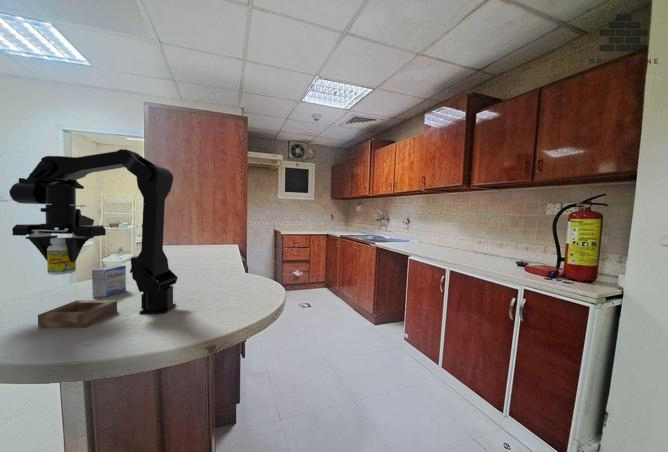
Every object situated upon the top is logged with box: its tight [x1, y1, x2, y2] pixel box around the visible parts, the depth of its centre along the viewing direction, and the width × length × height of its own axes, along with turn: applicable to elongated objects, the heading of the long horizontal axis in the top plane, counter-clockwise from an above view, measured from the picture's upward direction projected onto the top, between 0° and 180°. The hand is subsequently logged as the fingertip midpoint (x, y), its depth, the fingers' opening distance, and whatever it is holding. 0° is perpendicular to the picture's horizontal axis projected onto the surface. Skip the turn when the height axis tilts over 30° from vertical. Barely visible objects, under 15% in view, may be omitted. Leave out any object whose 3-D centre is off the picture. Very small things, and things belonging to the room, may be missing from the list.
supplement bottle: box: [46, 237, 77, 276], centre depth 71 cm, size 5×5×10 cm
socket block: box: [37, 299, 118, 329], centre depth 65 cm, size 10×10×3 cm
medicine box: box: [91, 264, 127, 298], centre depth 85 cm, size 8×4×9 cm, turn 179°
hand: (61, 261), depth 71 cm, fingers closed on supplement bottle, 5 cm apart
